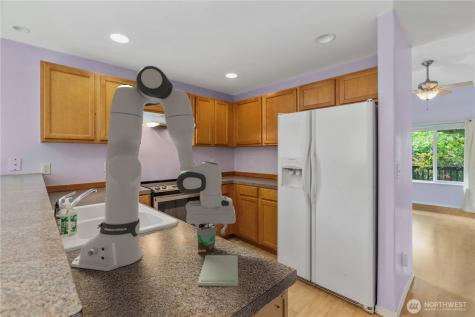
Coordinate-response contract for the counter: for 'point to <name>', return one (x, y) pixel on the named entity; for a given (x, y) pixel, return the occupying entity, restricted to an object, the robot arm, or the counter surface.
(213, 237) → the food container
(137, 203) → the robot arm
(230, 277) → the cutting board
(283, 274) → the counter surface
